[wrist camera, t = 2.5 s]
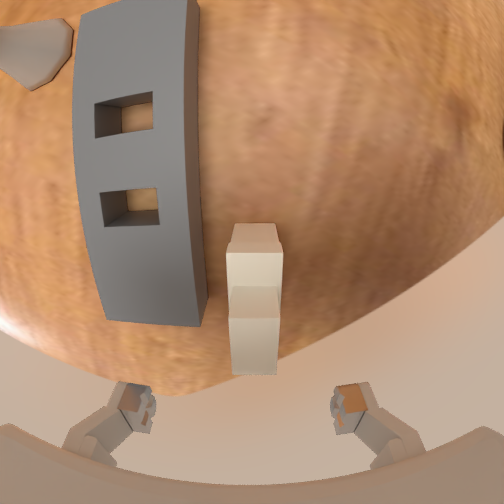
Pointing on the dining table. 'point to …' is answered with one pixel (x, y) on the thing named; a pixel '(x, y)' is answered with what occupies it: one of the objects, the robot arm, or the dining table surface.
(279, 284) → the clip
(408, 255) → the dining table surface
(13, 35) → the flask
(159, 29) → the rail
